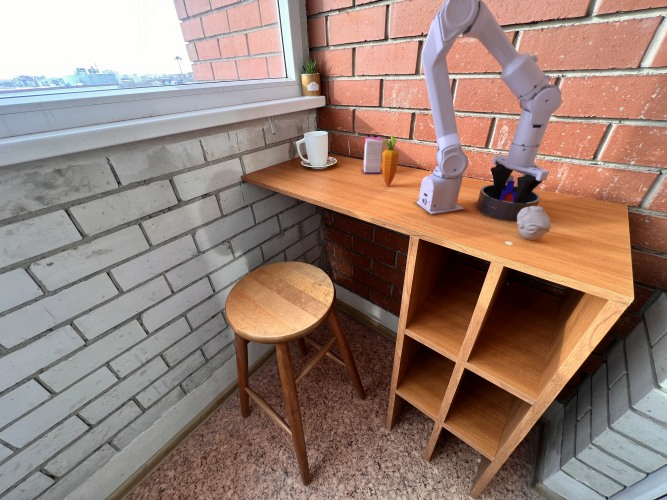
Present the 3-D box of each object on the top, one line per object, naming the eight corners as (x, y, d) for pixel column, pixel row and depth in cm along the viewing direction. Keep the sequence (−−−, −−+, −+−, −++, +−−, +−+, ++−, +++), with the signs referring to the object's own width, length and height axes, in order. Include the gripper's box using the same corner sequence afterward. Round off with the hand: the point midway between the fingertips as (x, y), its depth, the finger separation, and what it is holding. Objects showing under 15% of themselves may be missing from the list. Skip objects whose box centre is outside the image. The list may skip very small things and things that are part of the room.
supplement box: (380, 173, 101) (383, 140, 95) (364, 174, 102) (365, 140, 95) (378, 169, 106) (381, 136, 100) (363, 169, 107) (364, 137, 100)
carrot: (388, 190, 88) (393, 139, 80) (376, 186, 91) (379, 136, 83) (398, 186, 91) (404, 136, 82) (386, 182, 94) (390, 134, 86)
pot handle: (511, 191, 76) (513, 186, 75) (505, 190, 77) (507, 185, 76) (512, 180, 84) (514, 174, 83) (506, 179, 85) (508, 174, 84)
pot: (502, 224, 67) (508, 206, 65) (465, 203, 78) (469, 187, 76) (546, 216, 70) (553, 199, 68) (505, 197, 81) (510, 182, 79)
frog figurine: (529, 229, 65) (540, 200, 61) (552, 244, 59) (566, 214, 56) (504, 231, 65) (514, 202, 61) (525, 247, 59) (537, 216, 55)
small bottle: (510, 214, 74) (520, 184, 73) (512, 213, 71) (522, 181, 69) (495, 211, 76) (504, 181, 75) (496, 210, 72) (506, 178, 71)
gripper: (569, 149, 60) (544, 208, 68) (514, 136, 72) (499, 188, 79) (542, 152, 59) (520, 212, 66) (491, 138, 71) (477, 191, 78)
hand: (507, 199), depth 73 cm, fingers open, 6 cm apart
